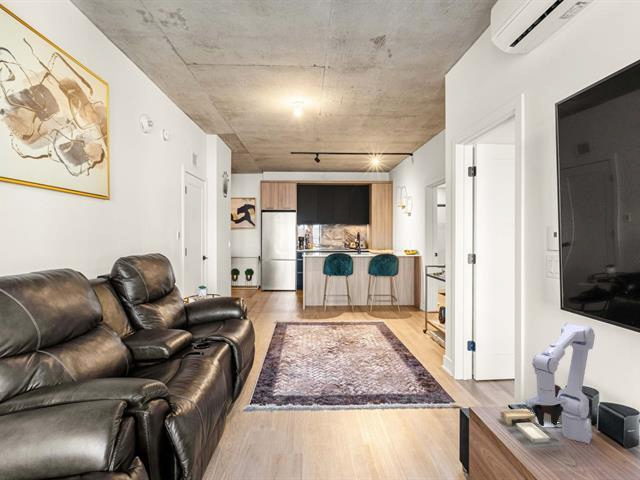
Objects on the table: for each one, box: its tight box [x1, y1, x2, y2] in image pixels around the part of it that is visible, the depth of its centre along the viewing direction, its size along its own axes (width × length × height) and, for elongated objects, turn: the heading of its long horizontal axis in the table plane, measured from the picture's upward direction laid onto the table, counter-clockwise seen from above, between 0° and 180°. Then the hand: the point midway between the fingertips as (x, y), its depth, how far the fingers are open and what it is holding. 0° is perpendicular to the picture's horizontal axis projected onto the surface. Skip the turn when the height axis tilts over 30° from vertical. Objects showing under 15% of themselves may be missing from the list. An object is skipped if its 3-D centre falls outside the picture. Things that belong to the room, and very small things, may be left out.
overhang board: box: [496, 408, 566, 449], centre depth 150 cm, size 23×15×5 cm, turn 1°
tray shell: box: [516, 423, 550, 444], centre depth 147 cm, size 12×6×2 cm, turn 1°
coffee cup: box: [541, 384, 562, 423], centre depth 159 cm, size 10×10×15 cm
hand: (547, 424), depth 137 cm, fingers open, 4 cm apart
